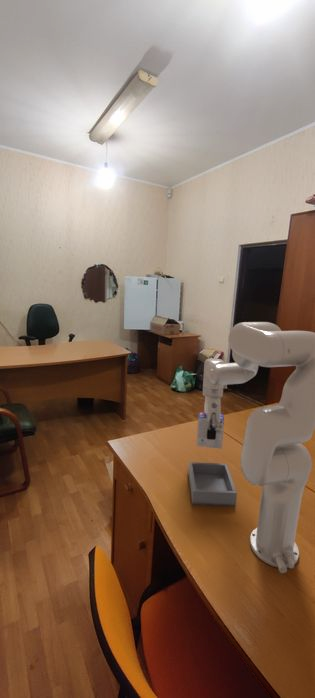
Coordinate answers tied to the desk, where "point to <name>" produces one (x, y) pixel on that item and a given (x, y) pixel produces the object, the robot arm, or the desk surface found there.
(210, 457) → the desk surface
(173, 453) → the desk surface
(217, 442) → the ink cartridge box
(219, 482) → the bin
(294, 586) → the desk surface
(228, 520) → the desk surface
